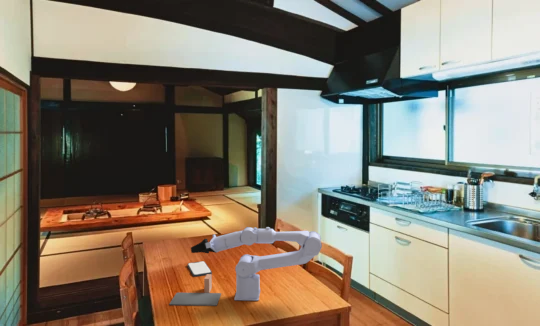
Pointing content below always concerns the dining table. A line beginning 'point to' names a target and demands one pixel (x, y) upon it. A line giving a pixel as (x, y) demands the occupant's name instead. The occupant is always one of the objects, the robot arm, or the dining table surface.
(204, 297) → the mat
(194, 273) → the phone case
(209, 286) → the tile
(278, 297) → the dining table surface
